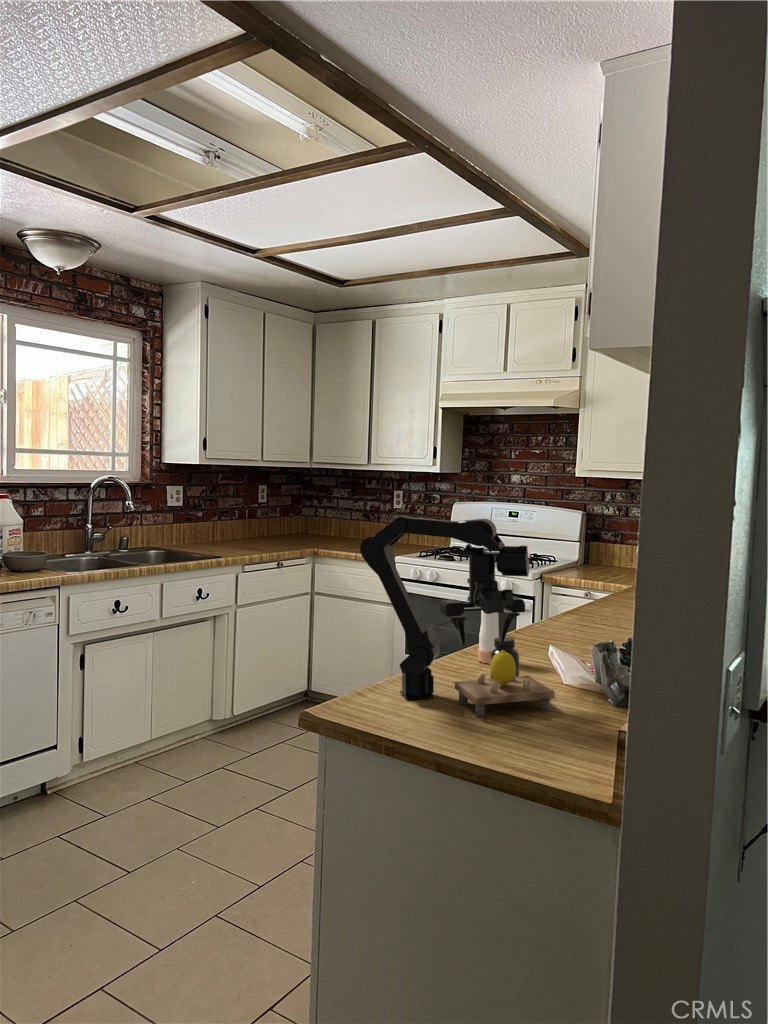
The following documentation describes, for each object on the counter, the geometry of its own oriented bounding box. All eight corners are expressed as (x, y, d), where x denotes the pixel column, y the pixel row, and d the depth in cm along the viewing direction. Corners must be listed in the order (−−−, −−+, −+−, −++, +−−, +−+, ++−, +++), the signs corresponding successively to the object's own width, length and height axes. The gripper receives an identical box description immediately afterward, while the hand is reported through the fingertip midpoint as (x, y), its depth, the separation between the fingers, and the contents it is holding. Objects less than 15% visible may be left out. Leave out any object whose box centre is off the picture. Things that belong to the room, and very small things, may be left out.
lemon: (498, 681, 173) (498, 646, 173) (520, 685, 170) (520, 649, 169) (485, 687, 169) (485, 650, 168) (507, 691, 165) (507, 654, 165)
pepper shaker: (504, 658, 213) (504, 589, 212) (505, 665, 205) (505, 594, 204) (477, 658, 213) (477, 589, 212) (478, 664, 206) (478, 593, 205)
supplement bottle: (497, 683, 188) (497, 634, 188) (523, 686, 185) (523, 637, 184) (485, 690, 182) (485, 640, 182) (513, 694, 179) (513, 643, 178)
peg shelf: (476, 719, 161) (476, 688, 161) (454, 701, 173) (454, 673, 173) (554, 711, 165) (554, 682, 165) (528, 694, 178) (528, 667, 178)
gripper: (455, 582, 162) (455, 655, 163) (536, 578, 167) (536, 649, 167) (438, 575, 173) (438, 644, 173) (514, 571, 177) (514, 638, 178)
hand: (482, 644), depth 173 cm, fingers open, 9 cm apart
